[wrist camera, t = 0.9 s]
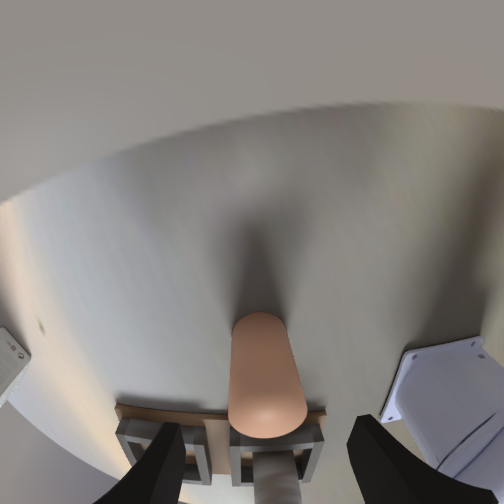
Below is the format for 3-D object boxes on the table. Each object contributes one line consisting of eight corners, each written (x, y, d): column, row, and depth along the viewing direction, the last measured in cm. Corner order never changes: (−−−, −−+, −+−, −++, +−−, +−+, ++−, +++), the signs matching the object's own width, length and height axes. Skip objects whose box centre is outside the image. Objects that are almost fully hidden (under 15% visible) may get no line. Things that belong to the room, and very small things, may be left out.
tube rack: (325, 410, 20) (349, 485, 13) (308, 466, 22) (321, 526, 15) (116, 403, 19) (86, 471, 12) (140, 460, 22) (124, 518, 14)
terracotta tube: (288, 311, 18) (312, 385, 11) (284, 357, 19) (302, 435, 12) (231, 311, 17) (226, 388, 11) (232, 357, 18) (229, 438, 12)
